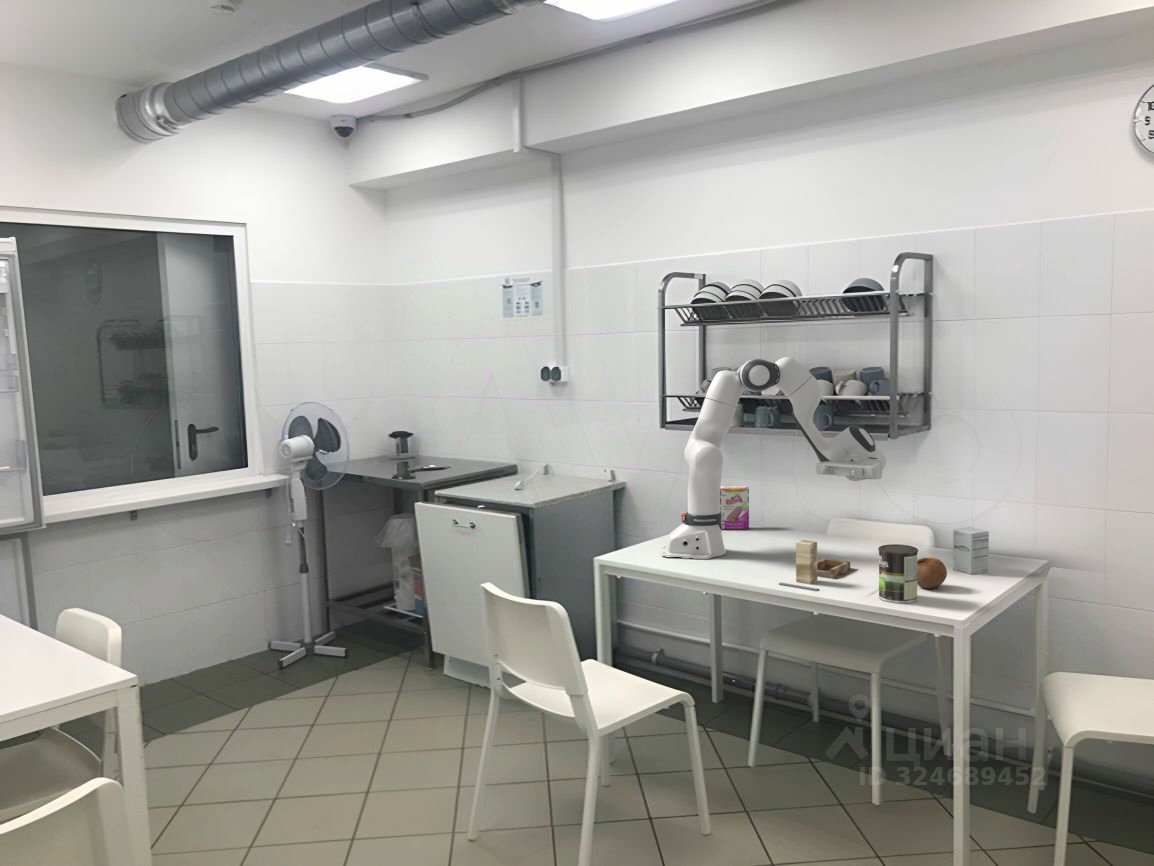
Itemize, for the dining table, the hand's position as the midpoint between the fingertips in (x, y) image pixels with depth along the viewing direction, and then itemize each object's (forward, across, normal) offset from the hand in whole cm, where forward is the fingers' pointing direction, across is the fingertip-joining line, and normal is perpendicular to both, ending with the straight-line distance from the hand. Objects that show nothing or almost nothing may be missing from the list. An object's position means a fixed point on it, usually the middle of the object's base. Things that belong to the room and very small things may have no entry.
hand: (837, 472), depth 283 cm
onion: (+8, +32, +30) cm, 45 cm away
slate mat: (+24, +2, +30) cm, 38 cm away
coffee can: (+24, +29, +30) cm, 48 cm away
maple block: (+24, +2, +30) cm, 38 cm away
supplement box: (-17, +35, +30) cm, 49 cm away
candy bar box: (-31, -58, +30) cm, 72 cm away
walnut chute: (+9, +2, +30) cm, 31 cm away
